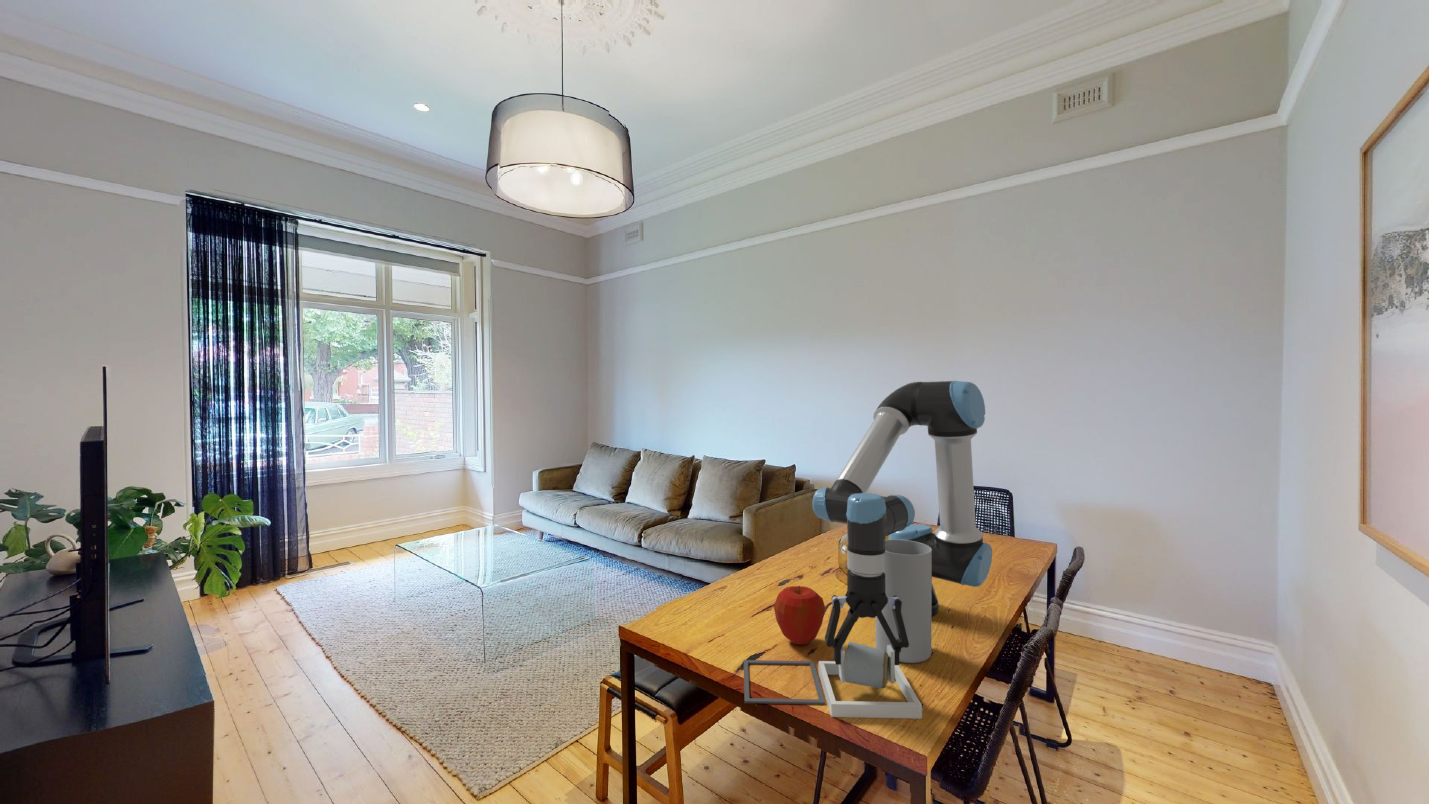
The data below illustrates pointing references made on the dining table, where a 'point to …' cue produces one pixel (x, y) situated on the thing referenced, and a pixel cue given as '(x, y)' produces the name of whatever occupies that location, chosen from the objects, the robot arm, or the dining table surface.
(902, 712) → the socket
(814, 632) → the apple
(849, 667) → the ceramic mug
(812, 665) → the tray outline
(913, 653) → the cylinder vase
